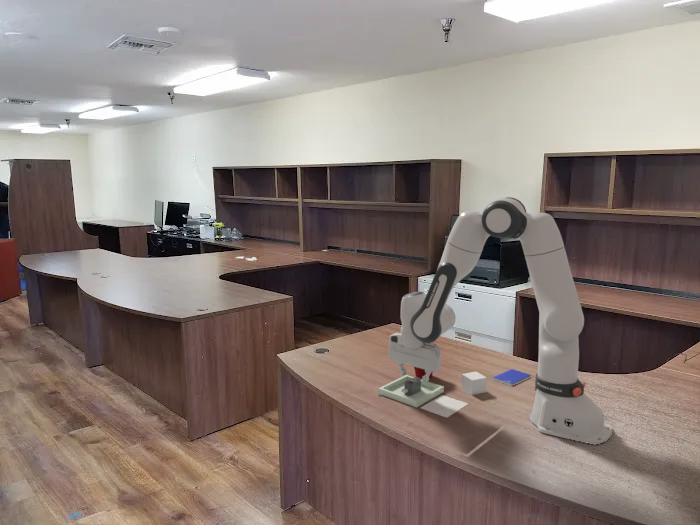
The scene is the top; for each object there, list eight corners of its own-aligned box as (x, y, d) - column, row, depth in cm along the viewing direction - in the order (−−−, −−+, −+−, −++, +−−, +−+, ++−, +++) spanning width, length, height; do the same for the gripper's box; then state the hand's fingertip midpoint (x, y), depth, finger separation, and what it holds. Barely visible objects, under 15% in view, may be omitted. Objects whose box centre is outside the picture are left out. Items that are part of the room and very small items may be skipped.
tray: (443, 393, 171) (443, 386, 171) (416, 409, 160) (416, 401, 160) (406, 381, 182) (406, 374, 182) (378, 395, 171) (378, 388, 170)
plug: (415, 387, 175) (415, 376, 175) (422, 389, 173) (422, 378, 173) (399, 395, 169) (399, 384, 168) (406, 398, 167) (406, 387, 166)
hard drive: (511, 383, 176) (530, 374, 184) (492, 376, 183) (511, 368, 190) (511, 387, 177) (530, 378, 184) (491, 380, 183) (511, 372, 191)
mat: (468, 405, 162) (468, 403, 162) (446, 419, 153) (446, 417, 153) (442, 396, 169) (442, 394, 169) (420, 409, 160) (420, 407, 160)
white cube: (486, 394, 171) (486, 377, 170) (471, 397, 169) (472, 380, 168) (475, 387, 176) (476, 371, 175) (461, 390, 174) (461, 374, 173)
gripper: (445, 342, 164) (445, 382, 166) (396, 331, 178) (396, 368, 180) (434, 347, 159) (434, 388, 161) (385, 335, 173) (385, 373, 175)
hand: (414, 377), depth 171 cm, fingers open, 8 cm apart
